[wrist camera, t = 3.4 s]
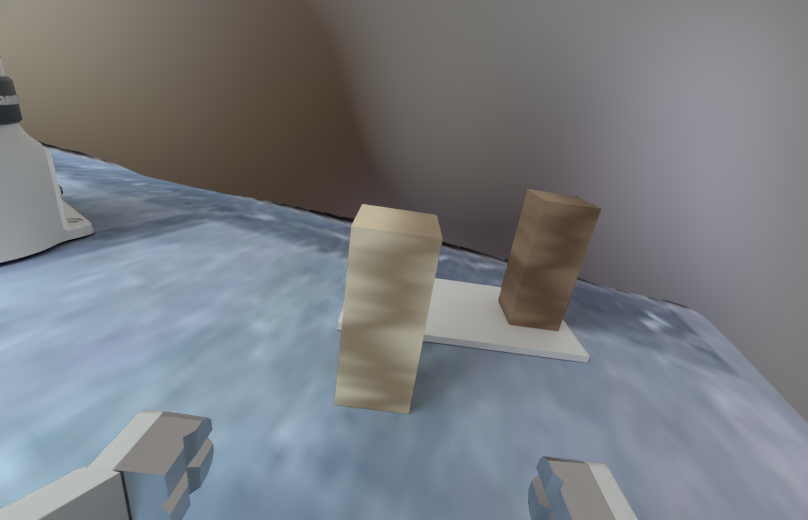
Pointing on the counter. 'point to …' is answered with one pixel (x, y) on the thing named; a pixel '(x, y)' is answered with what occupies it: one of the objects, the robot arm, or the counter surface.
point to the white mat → (489, 324)
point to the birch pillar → (386, 306)
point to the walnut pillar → (546, 258)
